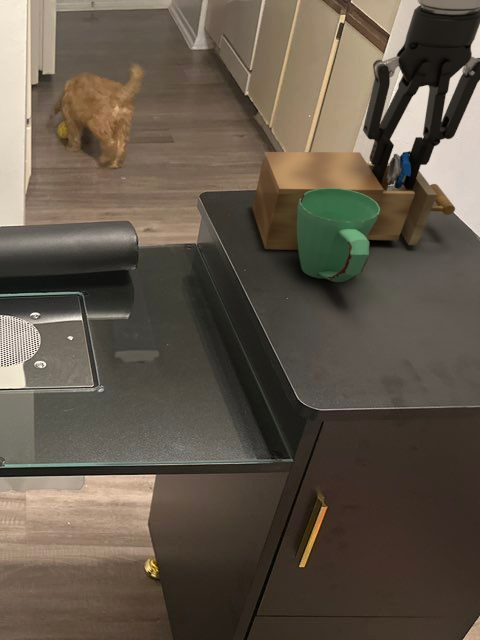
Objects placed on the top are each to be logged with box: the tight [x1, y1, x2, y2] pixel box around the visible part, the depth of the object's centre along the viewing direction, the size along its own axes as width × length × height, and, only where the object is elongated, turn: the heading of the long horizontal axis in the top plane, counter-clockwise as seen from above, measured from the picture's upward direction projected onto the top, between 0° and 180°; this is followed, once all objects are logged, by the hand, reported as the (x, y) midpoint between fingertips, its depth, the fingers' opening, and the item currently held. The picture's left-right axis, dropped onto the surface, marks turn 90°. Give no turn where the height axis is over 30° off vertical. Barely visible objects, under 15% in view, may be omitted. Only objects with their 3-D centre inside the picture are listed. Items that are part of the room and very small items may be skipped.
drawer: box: [366, 162, 456, 246], centre depth 106 cm, size 17×11×8 cm
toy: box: [387, 150, 411, 189], centre depth 103 cm, size 5×4×5 cm
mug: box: [297, 188, 380, 283], centre depth 97 cm, size 15×10×10 cm
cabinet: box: [251, 151, 384, 251], centre depth 107 cm, size 14×13×10 cm
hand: (390, 184), depth 104 cm, fingers closed on toy, 4 cm apart
